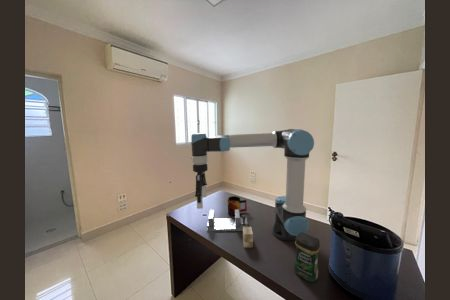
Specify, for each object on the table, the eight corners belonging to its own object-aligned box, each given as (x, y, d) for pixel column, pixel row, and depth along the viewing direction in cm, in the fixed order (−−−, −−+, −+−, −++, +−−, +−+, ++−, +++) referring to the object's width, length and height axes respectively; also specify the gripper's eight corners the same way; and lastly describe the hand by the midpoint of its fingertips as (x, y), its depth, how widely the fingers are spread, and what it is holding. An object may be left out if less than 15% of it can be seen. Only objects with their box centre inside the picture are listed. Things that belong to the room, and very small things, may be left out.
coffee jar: (291, 273, 79) (292, 235, 76) (298, 262, 84) (299, 227, 82) (314, 286, 72) (316, 246, 69) (320, 274, 78) (322, 236, 75)
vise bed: (245, 219, 124) (245, 208, 122) (247, 230, 111) (247, 218, 110) (209, 220, 124) (208, 209, 123) (207, 231, 111) (206, 219, 110)
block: (251, 239, 103) (251, 226, 102) (252, 247, 96) (252, 234, 95) (242, 239, 103) (242, 226, 102) (243, 247, 96) (243, 234, 95)
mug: (247, 212, 134) (246, 197, 133) (233, 218, 126) (233, 202, 125) (238, 207, 142) (238, 193, 140) (225, 213, 134) (225, 198, 132)
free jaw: (246, 218, 122) (246, 207, 121) (248, 228, 111) (247, 216, 110) (234, 218, 123) (234, 208, 122) (235, 228, 111) (235, 216, 110)
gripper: (197, 158, 101) (198, 193, 104) (187, 169, 77) (189, 214, 80) (209, 158, 101) (211, 192, 104) (203, 169, 76) (206, 213, 80)
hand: (202, 202), depth 92 cm, fingers open, 13 cm apart
